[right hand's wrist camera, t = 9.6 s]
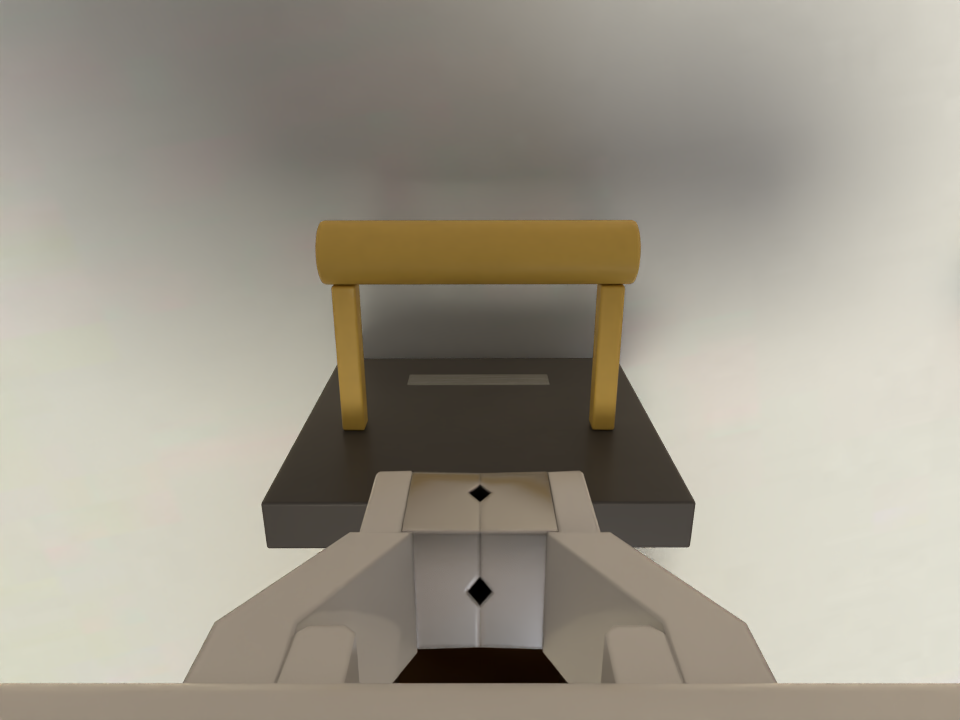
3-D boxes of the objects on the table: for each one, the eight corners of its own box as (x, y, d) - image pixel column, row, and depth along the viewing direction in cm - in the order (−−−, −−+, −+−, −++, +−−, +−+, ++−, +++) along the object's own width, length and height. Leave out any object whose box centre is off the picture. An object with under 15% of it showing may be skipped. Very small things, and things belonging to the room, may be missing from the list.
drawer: (326, 194, 21) (226, 252, 13) (629, 193, 21) (730, 252, 13) (373, 783, 30) (333, 1045, 22) (584, 782, 30) (625, 1043, 22)
